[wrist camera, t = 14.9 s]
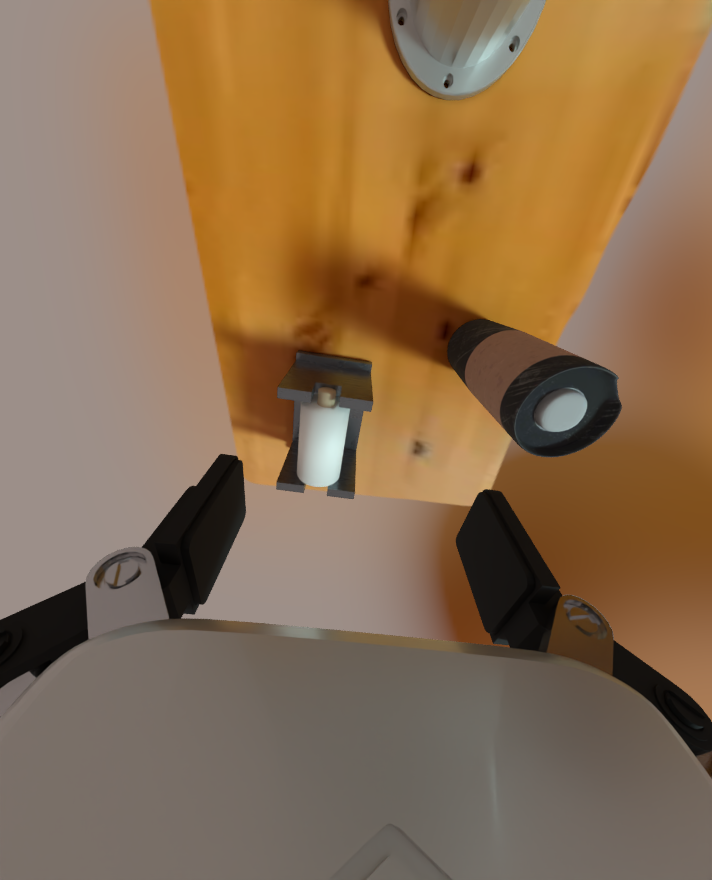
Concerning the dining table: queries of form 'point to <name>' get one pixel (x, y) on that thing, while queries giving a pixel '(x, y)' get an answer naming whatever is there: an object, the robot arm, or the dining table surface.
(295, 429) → the roll holder
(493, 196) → the dining table surface
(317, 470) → the paper roll
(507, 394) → the travel mug
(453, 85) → the robot arm
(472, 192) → the dining table surface
